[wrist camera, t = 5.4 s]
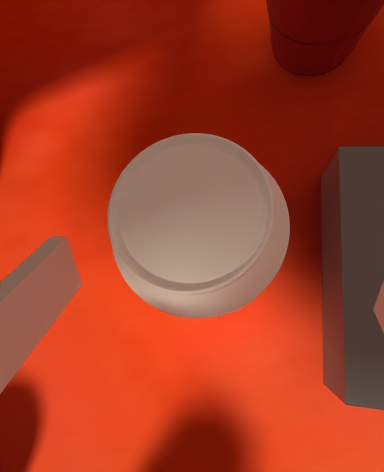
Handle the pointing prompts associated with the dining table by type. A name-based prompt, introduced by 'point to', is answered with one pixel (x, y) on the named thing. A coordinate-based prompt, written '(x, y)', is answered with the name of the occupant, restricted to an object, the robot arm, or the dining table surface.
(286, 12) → the plastic cup
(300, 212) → the dining table surface
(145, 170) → the beverage can
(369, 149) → the square frame
